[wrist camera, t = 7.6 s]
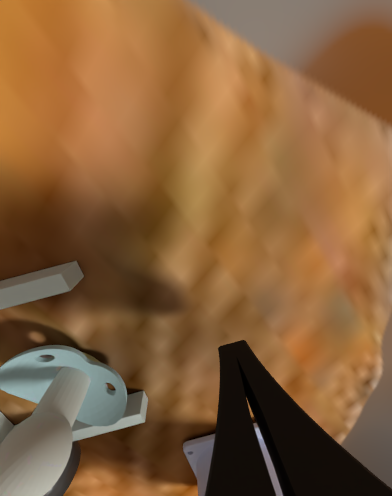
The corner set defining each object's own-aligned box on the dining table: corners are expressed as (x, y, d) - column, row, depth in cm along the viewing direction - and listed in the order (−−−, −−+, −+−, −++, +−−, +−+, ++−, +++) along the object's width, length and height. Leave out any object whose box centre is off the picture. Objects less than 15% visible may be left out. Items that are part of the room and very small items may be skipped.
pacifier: (97, 410, 15) (144, 367, 14) (44, 559, 9) (117, 510, 8) (1, 370, 13) (46, 315, 12) (-145, 532, 7) (-90, 458, 6)
